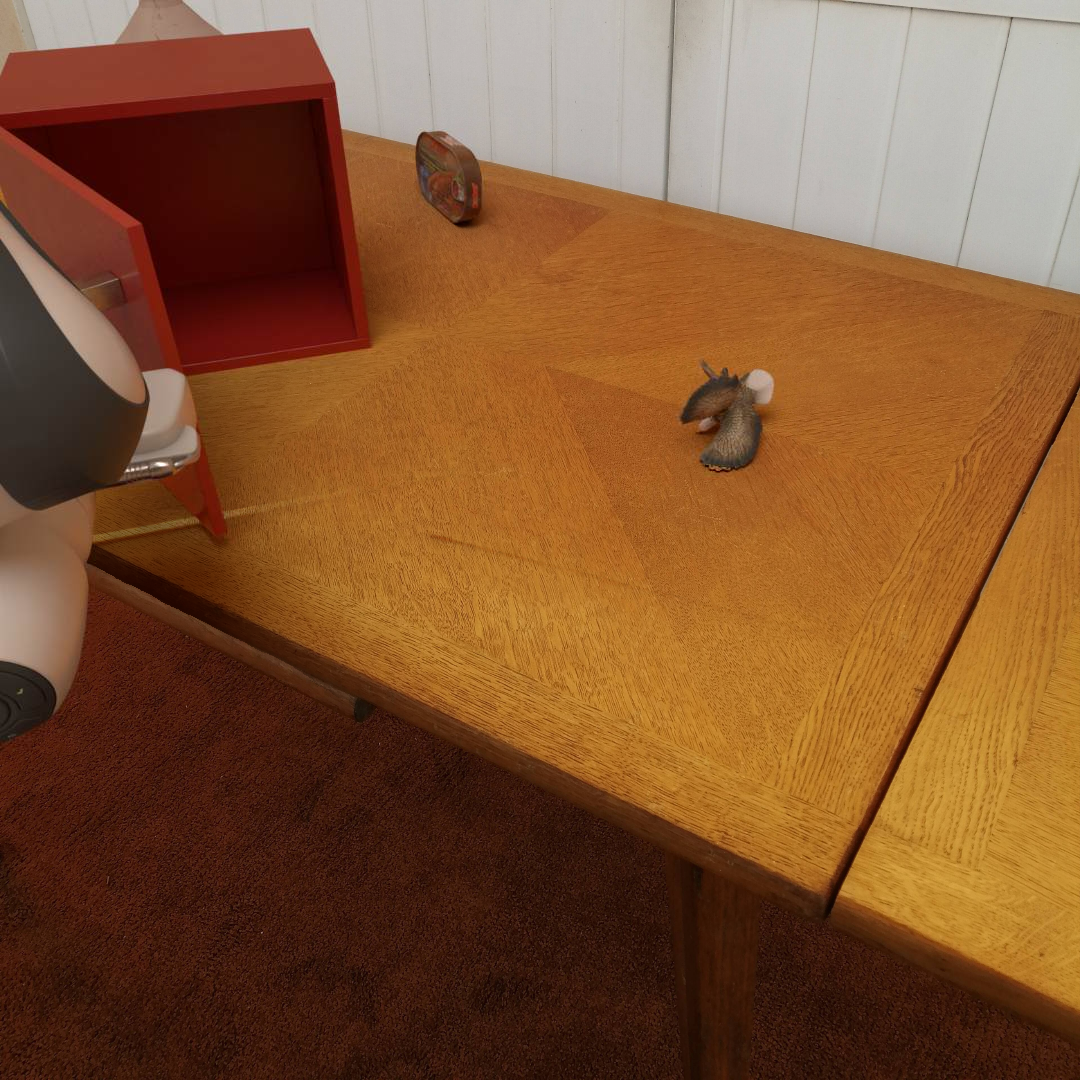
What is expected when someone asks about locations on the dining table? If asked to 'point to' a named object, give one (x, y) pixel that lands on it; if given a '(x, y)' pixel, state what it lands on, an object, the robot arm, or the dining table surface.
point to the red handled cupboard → (105, 280)
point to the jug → (165, 22)
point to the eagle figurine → (729, 414)
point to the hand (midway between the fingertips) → (30, 375)
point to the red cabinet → (213, 182)
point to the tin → (449, 176)
